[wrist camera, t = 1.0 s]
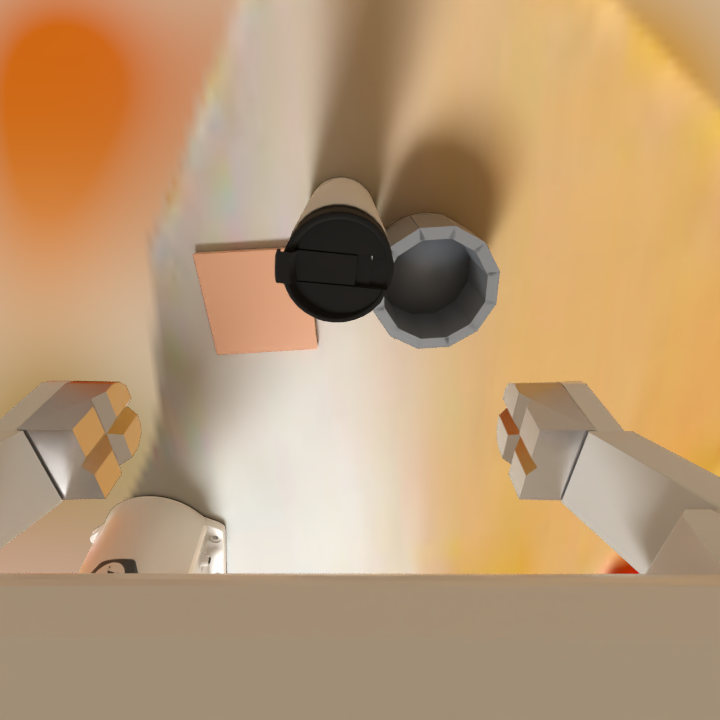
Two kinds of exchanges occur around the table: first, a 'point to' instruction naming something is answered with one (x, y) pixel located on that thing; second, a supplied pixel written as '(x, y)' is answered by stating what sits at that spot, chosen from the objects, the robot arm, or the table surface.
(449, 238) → the faceted gray cup
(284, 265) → the travel mug
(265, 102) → the table surface
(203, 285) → the terracotta tile
